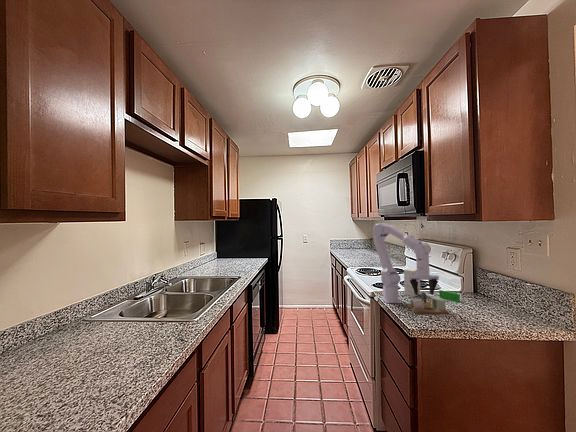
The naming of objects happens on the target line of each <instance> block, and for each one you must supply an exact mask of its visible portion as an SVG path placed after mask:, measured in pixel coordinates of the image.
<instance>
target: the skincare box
mask: <svg viewBox="0 0 576 432" xmlns="http://www.w3.org/2000/svg"><path fill="white" fill-rule="evenodd" d="M413 275H417V267H408V268H404V270H403V285H404V286H403V287H404V292H403V293H404V296H407V297H408V296H409V297H412V298H413V297H414V298H415V297H417V296H419V295H421V280H416V281H417V282H418V295H416V294H415V293H414V289H413V287H412V284H411V283H410V281H409V280H408V276H413Z"/></svg>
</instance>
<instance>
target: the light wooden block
mask: <svg viewBox="0 0 576 432" xmlns="http://www.w3.org/2000/svg"><path fill="white" fill-rule="evenodd" d="M420 295H421V299H422V300H423V301H424V307H431V300H427V293H426V292H424V291H420ZM412 306H414V302H413V301H412Z"/></svg>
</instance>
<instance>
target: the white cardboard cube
mask: <svg viewBox="0 0 576 432" xmlns="http://www.w3.org/2000/svg"><path fill="white" fill-rule="evenodd" d="M412 301H413V302H414V306H412ZM410 304H411V307H412V308H413V309H424V301H423V300H422V298H410Z"/></svg>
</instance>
